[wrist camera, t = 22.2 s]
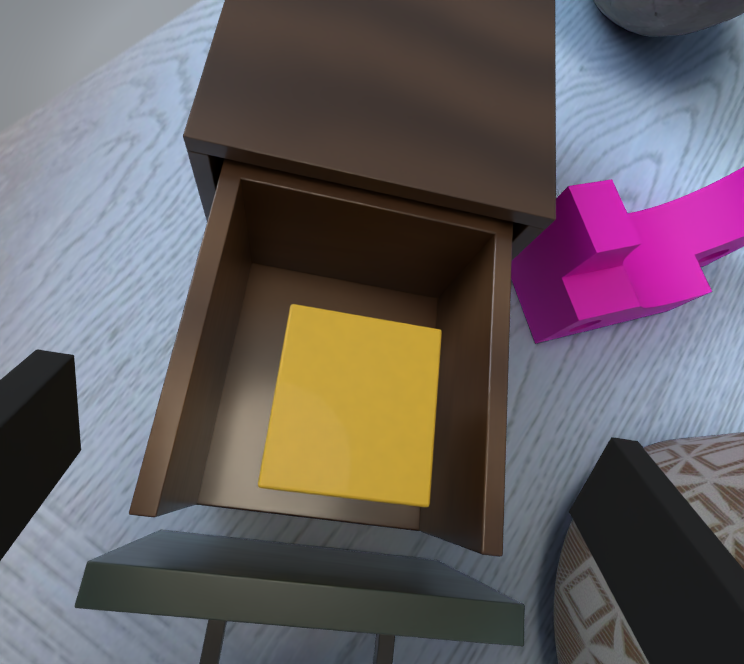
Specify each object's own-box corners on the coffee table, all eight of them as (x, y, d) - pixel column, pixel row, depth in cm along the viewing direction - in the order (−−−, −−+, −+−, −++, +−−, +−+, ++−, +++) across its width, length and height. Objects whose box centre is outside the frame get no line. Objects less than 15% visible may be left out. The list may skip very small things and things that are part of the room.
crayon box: (267, 483, 22) (256, 487, 12) (285, 379, 24) (290, 302, 13) (361, 494, 23) (430, 508, 12) (373, 392, 24) (442, 328, 14)
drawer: (429, 693, 22) (521, 824, 13) (125, 671, 20) (15, 810, 12) (457, 297, 28) (531, 221, 20) (228, 253, 26) (205, 149, 18)
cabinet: (460, 309, 29) (556, 219, 19) (218, 262, 27) (182, 135, 17) (474, 97, 34) (555, -59, 24) (273, 45, 32) (270, -149, 22)
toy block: (535, 343, 29) (617, 300, 22) (501, 253, 31) (568, 186, 24) (719, 298, 33) (839, 249, 26) (681, 220, 34) (785, 153, 27)
